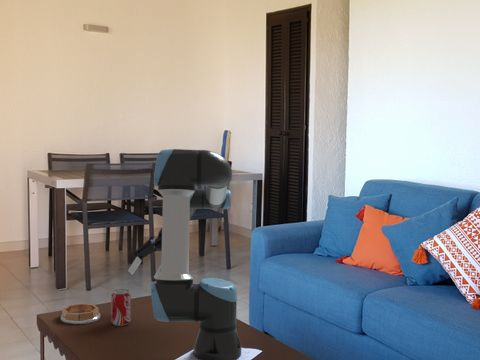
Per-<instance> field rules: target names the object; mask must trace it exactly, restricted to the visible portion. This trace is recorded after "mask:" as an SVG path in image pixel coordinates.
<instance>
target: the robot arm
mask: <svg viewBox="0 0 480 360" xmlns="http://www.w3.org/2000/svg"><path fill="white" fill-rule="evenodd" d="M232 177H233V170H232V167H231V165H230V163H229V162H228V161H227V160H226V158H225V157H223V156H222V155H220V154H218V153H216V152H215V151H211V150H208V149H207V150H206V149H181V148H172V149H171V148H170V149H162V150H160V151H159V152H158V154H157V156H156V161H155V166H154V173H153V185H154V186H155V187H157V188H158V189H157V192H159V194H160V195H161V197H162V224H161V225H162V226H161V228H160V230H159V231H158V235H157V237H156V238H154V237H153V236H150V237H149V239H147V241H145V242H144V243H143V244H142V245H141V246H140V247H139V248H137V249H136V250H135V251H134V252H133V256H135V257H134V259H133V260H132V262H131V265H130V266H129V268H128V269H127V272H128V273H130V275H132V276H133V275H134V273H135V272H136V271H137V270H138V267H140V264H141V263H142V260H143V259H144V258H146V257H148V256H149V255H151V254H152V253H154V252H161V260H160V261H161V262H160V263H161V264H160V265H159V267H158V268H157V270H156V272H155V274H154V276H153V278H154V280H155V282H153V283H152V284H151V286H150V292H151V293H150V295H151V296H150V297H151V305H152V312H153V316H154V319H155V320H156V321H158V322H168V323H171V322H175V323H176V322H181V323H182V322H183V323H184V322H186V323H190V322H193V323H194V322H198V323H199V330H198V333H197V336H196V338H195V342H194V345H193V355H194V356H195V357H196V358H197V359H199V360H201V359H202V360H234V359H235V360H236V359H238V358H240V357H241V355H242V344H241V340H240V337H239V334H238V331H237V305H238V304H237V303H238V294H237V293H238V292H237V290H238V289H237V286H236V285H235V284H234V283H233V282H231V281H228V280H226V279H221V278H216V277H206V278H201V280H200V281H199V283H194V277H193V276H192V275H191V274H190V272H189V271H190V270H189V266H190V261H189V260H190V259H189V258H190V253H189V252H190V220H191V218H192V216H193V214H195V212H196V210H197V209H198V210H200V209H201V210H204V209H205V210H208V209H209V210H228V209H230V208H231V204H232V203H231V202H232V200H231V199H232V192H231V190H230V189H228V185H229V184H230V183H231V181H232V179H233V178H232ZM195 187H205V188H206V189H205V188H204V189H203V188H202V189H201V188H195Z"/></svg>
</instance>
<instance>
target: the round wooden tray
mask: <svg viewBox="0 0 480 360" xmlns="http://www.w3.org/2000/svg"><path fill="white" fill-rule="evenodd" d="M61 310H62V314H61V316H60V321H61V322H62V323H65V324H68V325H87V324H91V322H92V323H94V321H95V322H97V321H99V320H100V318H101V312H99V311H100V310H99V306H96V305H95V304H93V303H84V302H83V303H76V304H69V305H67V306H66V307H64V308H63V309H61Z"/></svg>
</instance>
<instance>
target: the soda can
mask: <svg viewBox="0 0 480 360" xmlns="http://www.w3.org/2000/svg"><path fill="white" fill-rule="evenodd" d="M131 315H132V297H131V294H130V290H129V289H126V288H117V289H114V290H113V291H112V294H111V297H110V321H111V324H113V326H116V327H124V325H125V326H127V325H128V324H129V323H131V319H132V316H131Z"/></svg>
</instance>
